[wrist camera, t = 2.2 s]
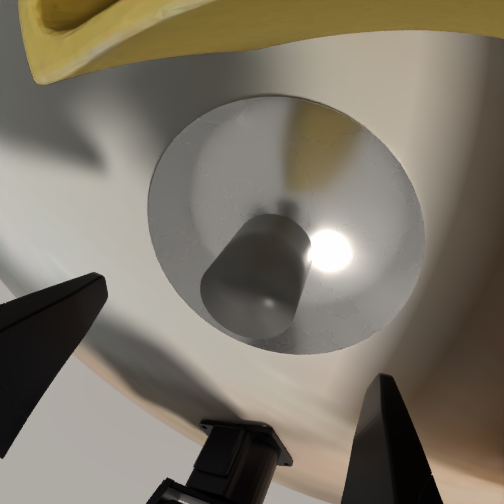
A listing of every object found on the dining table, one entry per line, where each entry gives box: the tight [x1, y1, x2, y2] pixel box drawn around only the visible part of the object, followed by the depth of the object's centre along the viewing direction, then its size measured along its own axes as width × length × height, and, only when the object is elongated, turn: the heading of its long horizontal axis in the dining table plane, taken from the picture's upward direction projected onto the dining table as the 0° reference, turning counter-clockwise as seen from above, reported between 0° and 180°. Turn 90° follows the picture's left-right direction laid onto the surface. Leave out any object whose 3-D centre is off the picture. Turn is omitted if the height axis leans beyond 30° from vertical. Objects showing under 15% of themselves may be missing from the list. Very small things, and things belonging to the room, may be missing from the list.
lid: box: [148, 97, 425, 355], centre depth 12 cm, size 12×12×4 cm
